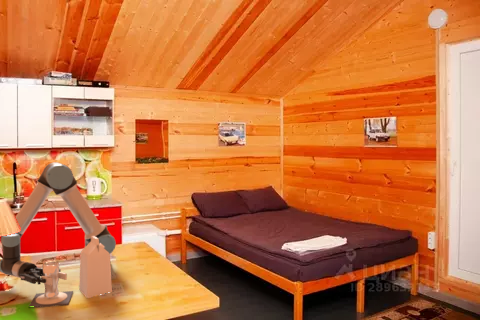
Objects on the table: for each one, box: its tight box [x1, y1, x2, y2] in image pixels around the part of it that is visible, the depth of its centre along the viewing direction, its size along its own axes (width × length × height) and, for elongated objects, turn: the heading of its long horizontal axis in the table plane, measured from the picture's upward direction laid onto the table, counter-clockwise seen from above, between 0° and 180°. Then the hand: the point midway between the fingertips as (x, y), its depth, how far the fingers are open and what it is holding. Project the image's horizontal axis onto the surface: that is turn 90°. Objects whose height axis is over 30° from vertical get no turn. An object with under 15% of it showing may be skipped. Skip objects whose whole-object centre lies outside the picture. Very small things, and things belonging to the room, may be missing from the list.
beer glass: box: [42, 260, 60, 298], centre depth 188 cm, size 7×7×15 cm
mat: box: [28, 290, 74, 308], centre depth 189 cm, size 16×14×1 cm
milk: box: [78, 236, 113, 299], centre depth 199 cm, size 12×12×26 cm
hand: (59, 279), depth 186 cm, fingers open, 7 cm apart
